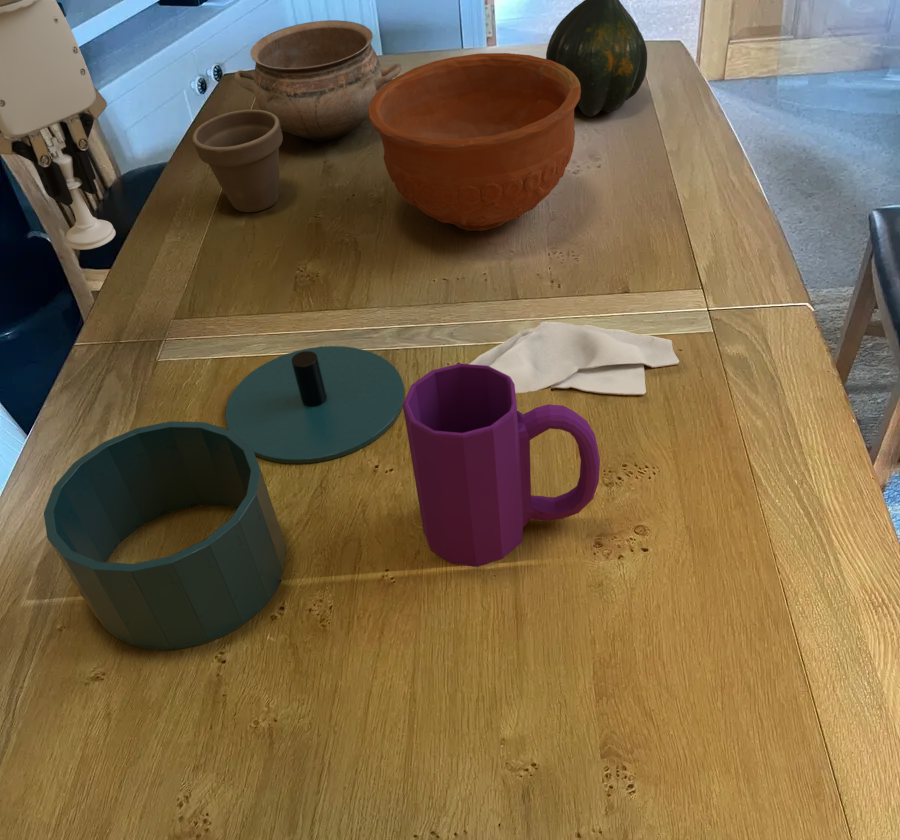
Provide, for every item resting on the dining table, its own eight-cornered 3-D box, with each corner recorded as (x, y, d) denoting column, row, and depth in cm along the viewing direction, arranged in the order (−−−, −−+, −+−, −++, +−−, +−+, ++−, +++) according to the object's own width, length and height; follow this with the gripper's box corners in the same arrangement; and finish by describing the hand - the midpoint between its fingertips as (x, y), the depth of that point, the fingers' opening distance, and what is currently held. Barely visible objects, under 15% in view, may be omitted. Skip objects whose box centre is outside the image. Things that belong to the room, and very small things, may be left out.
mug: (423, 501, 87) (402, 367, 76) (591, 487, 86) (594, 349, 75) (424, 574, 81) (402, 441, 70) (604, 559, 80) (610, 422, 69)
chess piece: (125, 234, 96) (88, 134, 89) (83, 255, 94) (43, 154, 86) (99, 221, 99) (62, 122, 91) (58, 240, 96) (17, 141, 89)
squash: (541, 95, 130) (613, -10, 122) (515, 61, 140) (580, -38, 132) (613, 151, 137) (685, 55, 129) (583, 115, 147) (648, 24, 140)
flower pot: (203, 224, 126) (179, 149, 119) (226, 183, 133) (205, 110, 126) (285, 221, 124) (267, 145, 117) (303, 180, 132) (287, 106, 124)
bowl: (607, 240, 114) (612, 112, 102) (408, 284, 112) (390, 158, 100) (545, 155, 130) (543, 36, 118) (369, 192, 128) (350, 75, 116)
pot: (70, 658, 79) (18, 580, 71) (115, 510, 90) (74, 429, 83) (276, 643, 78) (245, 561, 70) (294, 495, 89) (269, 412, 82)
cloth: (669, 318, 102) (671, 299, 100) (686, 396, 93) (688, 377, 92) (433, 333, 105) (430, 315, 103) (427, 411, 96) (424, 393, 94)
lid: (216, 476, 92) (197, 427, 88) (239, 363, 104) (224, 314, 100) (404, 460, 91) (395, 409, 86) (406, 347, 103) (398, 297, 99)
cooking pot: (420, 102, 145) (409, 14, 136) (396, 159, 133) (383, 66, 124) (267, 107, 150) (247, 22, 140) (231, 163, 138) (207, 74, 128)
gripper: (52, -50, 84) (122, 156, 98) (-116, 3, 78) (-15, 217, 91) (96, -38, 81) (162, 174, 94) (-77, 19, 74) (22, 240, 88)
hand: (74, 194), depth 93 cm, fingers closed on chess piece
